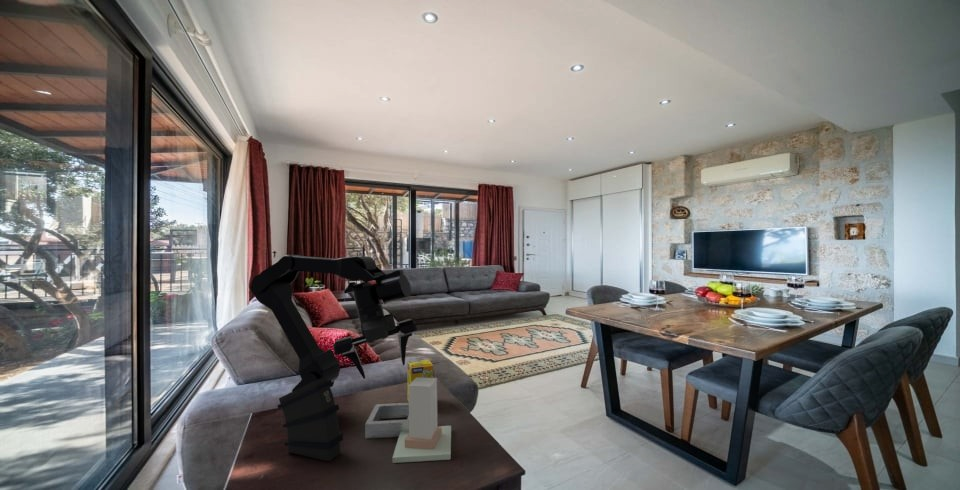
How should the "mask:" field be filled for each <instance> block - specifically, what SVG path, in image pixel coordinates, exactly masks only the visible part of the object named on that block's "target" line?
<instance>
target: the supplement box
mask: <svg viewBox="0 0 960 490" xmlns="http://www.w3.org/2000/svg"><path fill="white" fill-rule="evenodd" d="M406 373H407V380H406V381H407V383H406V384H407V392H406V393H407V403H409V385H410V384H411V382H412V381H413V380H414V379H415V378H416V377H419V378H434V364H433V362H431V361H430V359H422V360H413V361H412V360H411V361H407V372H406Z"/></svg>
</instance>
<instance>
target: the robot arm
mask: <svg viewBox="0 0 960 490" xmlns="http://www.w3.org/2000/svg"><path fill="white" fill-rule="evenodd" d="M300 272H307V273H317V274H318V273H320V274H329V275H330V274H331V275H335V276H337V277H339V278H342V279H346V280H349V281H352V282H349V283H348V285H347V287H345V289H344V291H343V293H344V294H349V293H353V297H354V301H355V306H356V310H357V314H358V319H359V323H360V329H361V334H362V335H360V336H356V337H354V338H352V335H349V336H346V337H343V338H339V339H336V340H335V341H334V343H333V345H332V346H333V350H332V349H328V350H326V351H325V350H323V349H322V348H321V347H320V346H319V344H318V343H317V341H316V340H315V338H314V336H313V334H312V332H311V331H310V329H309V327H308V326H307V324H306V322H305V321H304V319H303V317H302V315H301V314H300V312H299V309H297V307H296V305H295V303H294V302H293V288H292V287H293V286H292V285H291V284H292V283H294V282H295V281H296V280H297V277H298V276H299V273H300ZM356 281H361V282H359V283H357V282H356ZM371 282H375V283H372V284H371ZM249 290H250V292H251V294H252V295H253V296H254V298H255V299H256V300H257V301H258V303H260V304H261V305H263V306H264V307H266V308H268V309H269V310H270V311H271V312H272V313H273V315H274V317H275V319H276V320H277V322H278V324H279V326H280V327H281V329H282V332H283V333H284V335H285V337H286V338H287V340H288V342H289V344H290V345H291V347H292V349H293V351H294V352H295V354H296V356H297V358H298V361H299V364H298V365H299V366H298V373H299V377H300V379H301V380H299V382H298V383H297V384H296V385H295V386H294V387H293V388H292V389H291V392H293V391H295V390H297V389H299V388H301V387H303V386H305V385H308V384H310V383H312V382H314V381H316V380H318V379H320V378H323V377H325V376H326V377H327V380H328V381H330V380H331V382H332V384H331V385H329V386H330V388H332V387H333V386H334V385H335V381H336V380H338V377H339V375H340V372H341V368H340V365H339V364H340V361H339V360H338V359H337V358H336V356H339V355H341V358H344V357H347V358H348V359H349V360H350V361H351V362H352V363H353V364H354V366H355V367H356V369H357V371H358V372H359V374H360V375H361V377H362V379H363V380H365V379H366V374H365V370H364V368H363V365H362V362H361V360H360V357H359V353H358V351H357V348H356V347H357V346H359V345H362V344H363V345H364V344H372V343H374V342H375V341H378V340H384V339H387V338H388V337H389V336H393V335H396V334H398V335H397V338H398V339H397V340H398V346H399V352H400V353H399V355H400V361H401V363H402V366H405V364H406V355H407V353H406V352H407V346H408V340H409V339H410V337H412V336H413V332H416V331H418V328H417V323H416V321H415V320H414V319H412V318H408V319H404V320H401V321H397V322H395V318H394V314H393V313H392V312H391V313H388V314H385V313H384V308H383V304H382V302H383V303H386V304H387V303H391V302H395V301H399V300H402V299H406V298H409V297H410V296H411V293H412V288H411V283H410V281H409V280H408V278H407V276H406V275H405V274H404V269H397V270H394V271H392V272H390V273H386V272H384V271H383V270H382V269H381V268H380V267H379V266H378V265H377V264H376V261H375V259H374V258H373V257H371V256H368V255H367V256H363V255H362V256H357V255H356V256H346V257H340V258H334V257H333V258H330V257H321V256H320V257H319V256H318V257H317V256H305V255H304V256H303V255H300V254H286V255H283V256H282V257H280V258H279V260H278V261H277V262H276V263H273V264H272V265H270V266H268V267H267V268H264V269H263V270H262V271H261V272H260V273H258V274H256V275H255V276H253V278H252V279H251V283H250V285H249Z"/></svg>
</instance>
